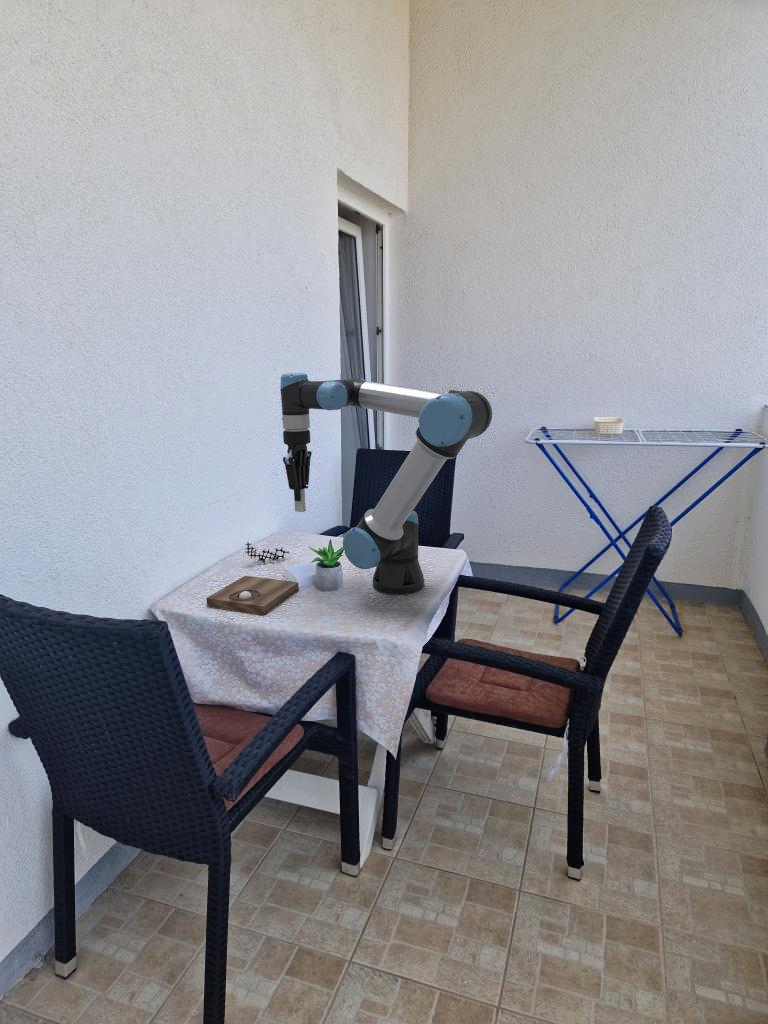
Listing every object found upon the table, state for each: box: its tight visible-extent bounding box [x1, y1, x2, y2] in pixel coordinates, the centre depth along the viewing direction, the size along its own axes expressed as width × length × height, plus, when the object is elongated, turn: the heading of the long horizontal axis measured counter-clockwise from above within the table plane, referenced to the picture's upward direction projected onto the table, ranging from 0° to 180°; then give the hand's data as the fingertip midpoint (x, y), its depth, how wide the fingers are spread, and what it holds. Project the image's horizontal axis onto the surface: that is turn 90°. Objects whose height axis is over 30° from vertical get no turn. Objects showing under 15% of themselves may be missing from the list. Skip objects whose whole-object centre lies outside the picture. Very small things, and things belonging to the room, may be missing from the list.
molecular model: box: [244, 541, 291, 565], centre depth 213 cm, size 6×15×8 cm, turn 120°
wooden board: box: [206, 575, 300, 616], centre depth 183 cm, size 18×19×2 cm
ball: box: [239, 591, 252, 599], centre depth 179 cm, size 4×4×4 cm
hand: (300, 511), depth 188 cm, fingers closed
